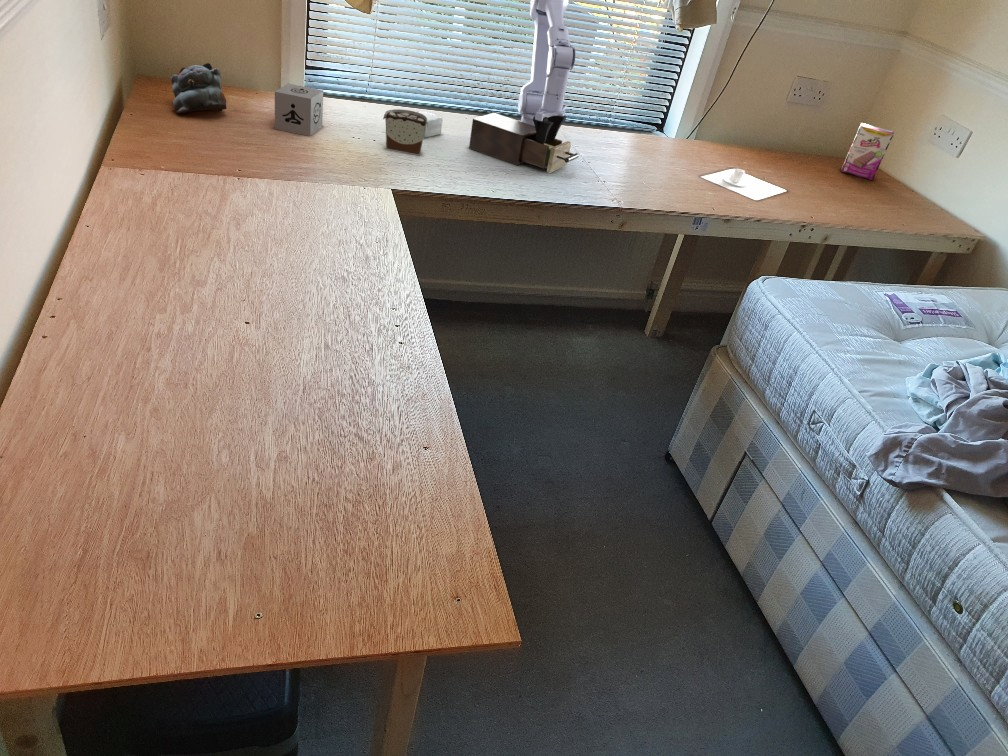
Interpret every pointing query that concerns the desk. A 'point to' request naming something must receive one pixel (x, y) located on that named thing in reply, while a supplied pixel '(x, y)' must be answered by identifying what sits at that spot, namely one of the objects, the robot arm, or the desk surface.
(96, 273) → the desk surface
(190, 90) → the lucky cat figurine
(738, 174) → the teacup and saucer
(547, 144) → the green block
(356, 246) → the desk surface
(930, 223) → the desk surface
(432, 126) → the small box
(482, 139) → the cabinet
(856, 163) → the candy bar box
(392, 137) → the panettone cake
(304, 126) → the icon cube
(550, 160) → the drawer
